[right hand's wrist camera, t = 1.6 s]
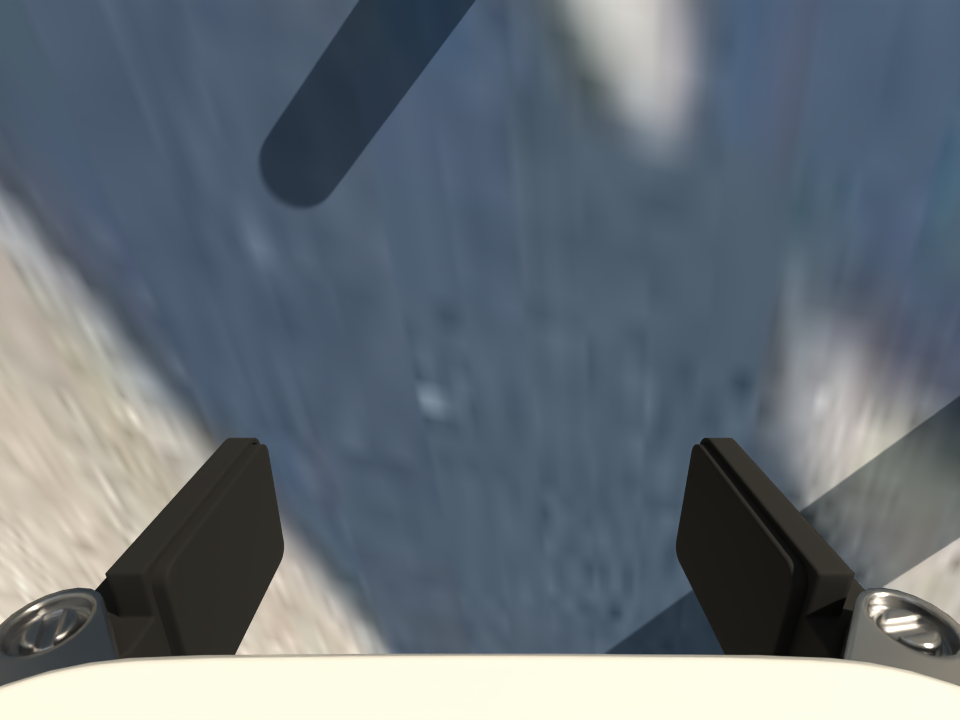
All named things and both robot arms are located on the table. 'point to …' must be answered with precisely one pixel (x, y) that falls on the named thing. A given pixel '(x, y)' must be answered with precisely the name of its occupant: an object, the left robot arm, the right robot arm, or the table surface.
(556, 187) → the table surface
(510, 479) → the table surface
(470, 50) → the table surface
